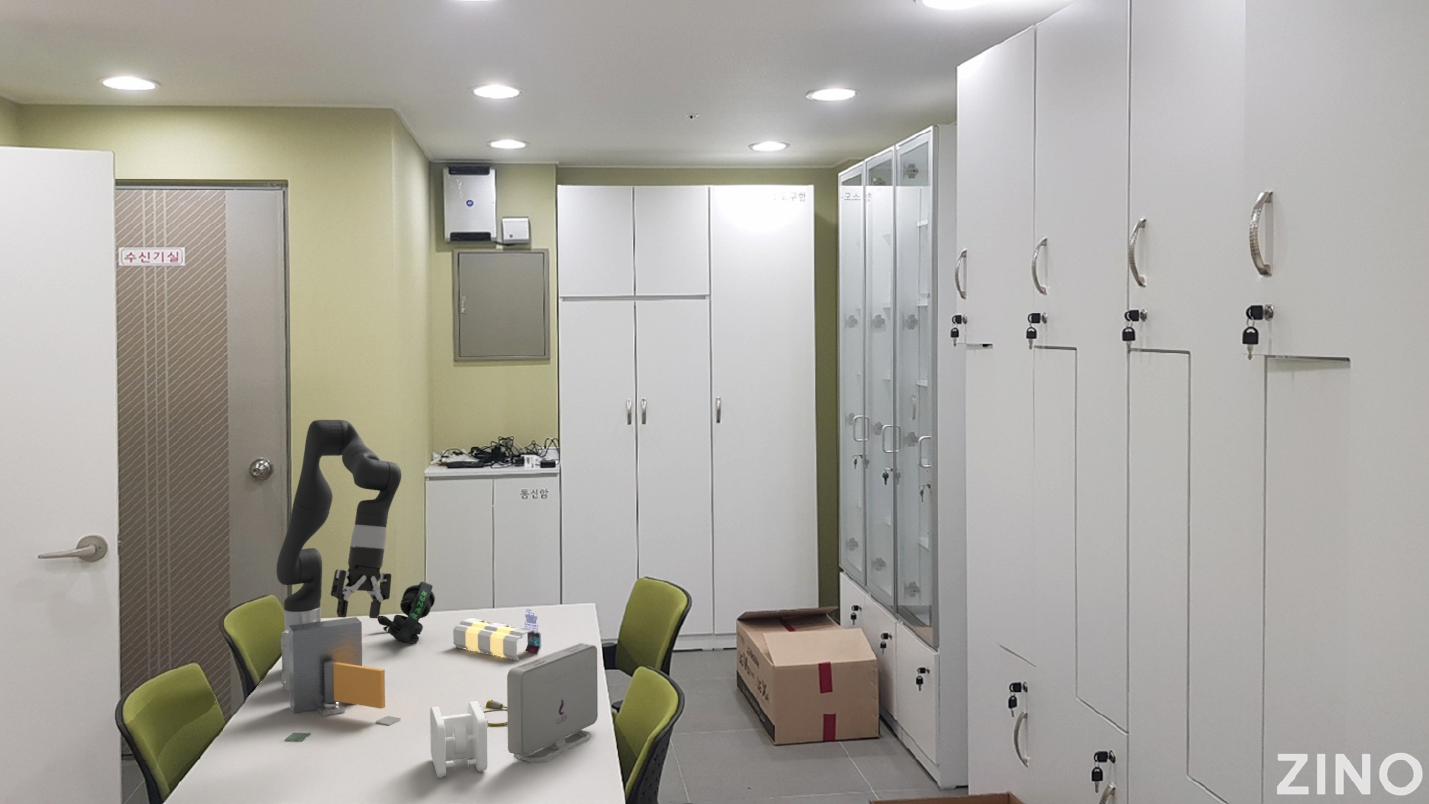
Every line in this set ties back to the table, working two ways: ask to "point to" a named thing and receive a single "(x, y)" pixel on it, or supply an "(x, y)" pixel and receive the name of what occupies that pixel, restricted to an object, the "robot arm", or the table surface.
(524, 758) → the network device
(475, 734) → the cable organizer
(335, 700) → the orange rectangular panel
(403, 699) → the table surface
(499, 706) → the extension cord
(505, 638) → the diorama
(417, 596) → the headset
